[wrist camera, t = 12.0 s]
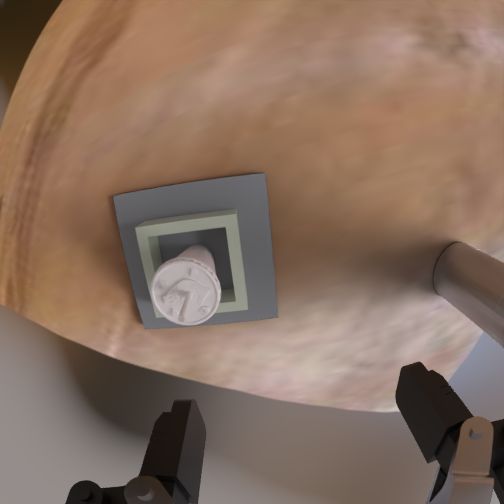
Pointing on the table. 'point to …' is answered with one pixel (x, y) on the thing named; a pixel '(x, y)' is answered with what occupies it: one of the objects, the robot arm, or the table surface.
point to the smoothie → (187, 287)
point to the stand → (203, 242)
